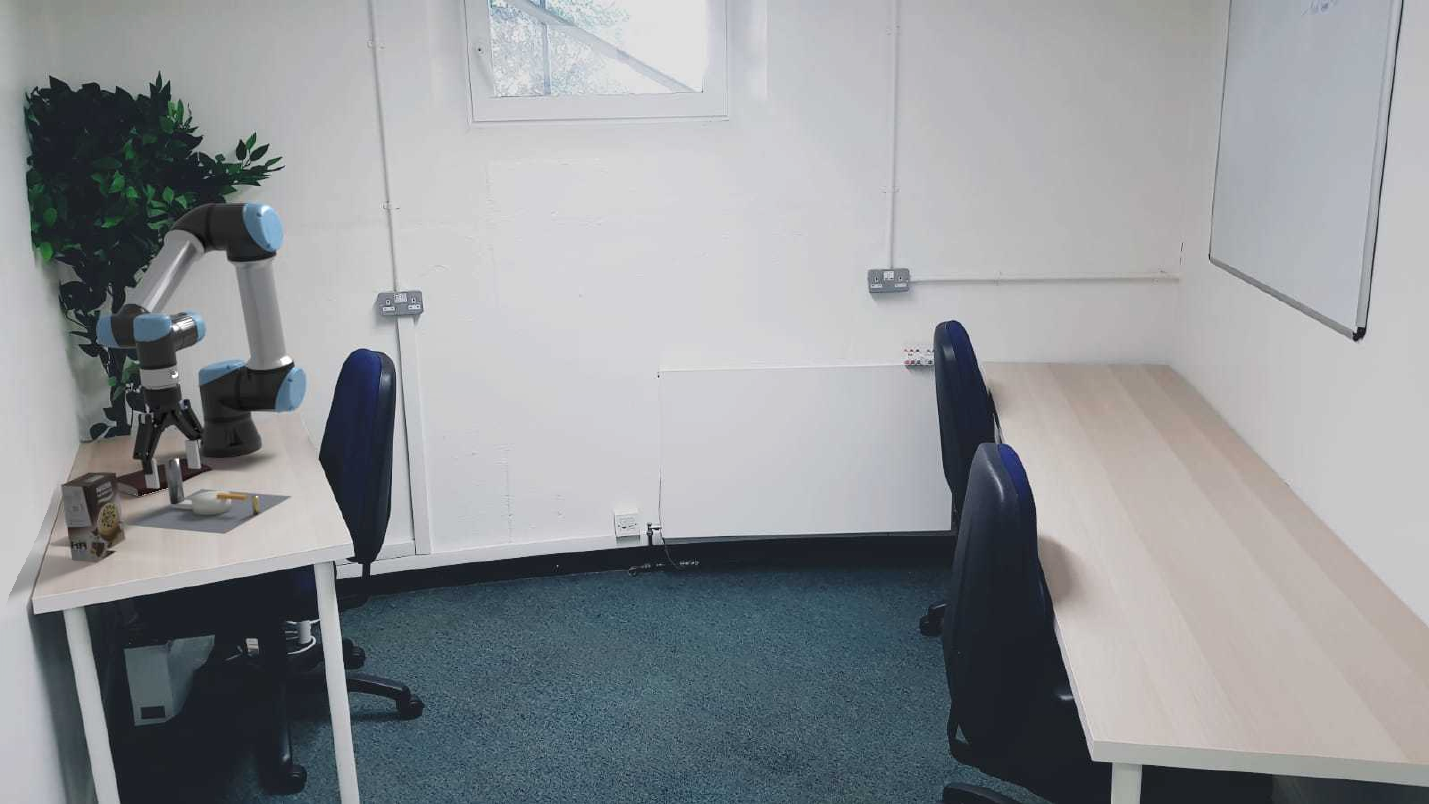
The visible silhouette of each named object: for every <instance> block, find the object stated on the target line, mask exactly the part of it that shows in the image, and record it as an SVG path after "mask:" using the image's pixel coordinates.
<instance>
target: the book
mask: <svg viewBox="0 0 1429 804" xmlns="http://www.w3.org/2000/svg"><path fill="white" fill-rule="evenodd" d="M179 462H180V469H181V477H182V483H184V482H187V481H188V480H190V479H193V478H195V477H198V476H199V475H202V474H204V473H207V472H211V471H213V468H212V466H210V465H208V464H205V463H203V462H200V464H201V468H200V469H194V468H189V467H188V460H187V457H186V458H183V457H182V458H179ZM157 471H158V478H159V485H160V488H158V489H157V488H147V485H146V478H145V475H144V473H143V469H141V470H137V471H133V472H130V473H127V474H122V475H119V476H116V478H117V485H118V490H119V492H121V491H123V492H122V493H124V492H125V494H127V493H130V494H129V495H131V494H136V495H138V496H142V495H144V494H149V493H152V492H156V491H159V490H162V489H166V488H168V484H167V476H166V469H165V462H164V463H161V464H158V465H157ZM166 490H167V489H166ZM159 492H160V491H159ZM156 493H157V492H156ZM152 494H153V493H152ZM149 495H150V494H149ZM142 497H143V496H142Z"/></svg>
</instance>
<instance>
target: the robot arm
mask: <svg viewBox="0 0 1429 804" xmlns="http://www.w3.org/2000/svg"><path fill="white" fill-rule="evenodd" d="M283 238H284V231H283V225H282V222H281V219H280V217H279V215H278V214H277V212H276V211H275V210H274V209H273V208H272V207H271V206H270V205H268V204H265V203H254V202H230V203H229V202H226V203H224V202H223V203H216V202H213V203H212V202H211V203H206V204H205V203H204V204H202V205H199V206H197V207H195V208H193V209H191V210H189V211H188V212H187V213H185V214H183V216H182V217H180V218H179V219H178V220H176V222H175V223H173V225H172V226H171V227H170V228H169V229H168V231H167V232H166V234H165V235H164V238H163V246H162V248H161V249H160V251H159V252H158V254H157V255H156V257H155V258H154V260H153V261H151V264H150V265H149V267H148V268H147V270H146V271H145V273H144V274H143V276H142V277H141V278H140V280H139V281H138V282H137V284H136V286H135V287H134V288H133V290H132V292H131V293H130V294H129V296H128V298H126V300H125V301H124V303H123V304H122V306H121V307H120V308H119V310H118V311H117V313H110V314H104V315H102V316H100V317H99V319H98V321H97V323H96V329H95V331H96V337H97V340H99V341H98V342H100V344H101V345H102V346H104V347H106V348H112V349H113V348H115V349H119V350H120V349H121V350H122V349H136V352H137V358H138V367H139V374H140V375H139V376H140V382H141V386H142V387H143V388H142V395H143V399H144V400H143V401H144V404H145V405H146V406H147V407H148V408H149V409H148V413H139V414H138V415H137V418H138V419H137V420H138V421H137V422H138V425H137V426H138V428H137V431H136V436H135V442H134V448H133V453H132V459H133V460H135V461H136V460H138V461H141V466H142V470H143V473H144V475H145V478H146V485H147V488H157V489H158V488H160V485H159V478H158V471H157V460H156V458H153V457H154V455H155V452H156V449H157V448H158V447H157V446H158V443H160V442H159V441H160V439H161V437H162V434H163V433H164V432H165V430H166V429H168V428H169V427H171V426H175V427H176V428H177V429H178V430H179V431H180V433H181V434H182V435H184V437H185V438H187V439H186V440H184V445H185V453H186V459H187V460H188V467H189V468H194V469H200V468H201V464H200V463H201V460H200V459H201V458H200V454H201V455H203V456H205V457H214V458H223V457H224V458H226V457H234V456H235V457H236V456H242V455H245V454H249V453H253V452H255V451H257V450H259V449H260V448H262V446H263V443H262V436H261V435H260V434H259V431H258V428H257V427H256V424H255V422H254V420H253V417H252V412H259V413H260V412H266V413H278V414H279V413H285V412H289V413H290V412H294V411H296V410H297V409H298V408H299V407H300V406H301V404H302V403H303V400H304V397H305V395H306V391H307V377H306V373H305V371H304V369H303V368H302V367H300V366H298V365H295V361H294V357H293V356H292V355H291V354H289V353H288V352H287V350H286V349H287V348H286V343H285V337H284V331H283V330H284V329H283V325H282V320H281V319H282V318H281V313H280V308H279V307H280V304H279V301H278V300H279V299H278V294H277V288H276V281H275V276H274V270H273V264H272V263H273V261H274V260H275V258H276V257H277V255H278V254H277V251H278V250H280V248H281V247H282V244H283V243H284V242H283V241H284V240H283ZM216 251H218V252H225V253H226V258H227V259H226V260H227V262H229V263H230V264H232V265H233V266H234V268H235V273H236V279H237V284H238V285H237V286H238V290H239V296H240V301H241V302H240V303H241V307H242V314H243V320H244V325H245V330H246V338H247V342H248V348H249V353H250V357H249V359H248V360H247V361H245V360H244V359H239V358H237V359H231V360H224V361H220V362H216V363H212V364H208V365H206V366H204V367H201V369H200V370H199V371H198V375H197V377H198V388H199V396H200V403H201V408H202V415H203V426H202V424H201V422H200V421H199V419H198V417H197V415H196V414H195V412H194V410H193V408H192V404H191V400H190V399H189V398H183V394H182V389H181V384H179V383H178V382H179V381H180V377H179V371H178V362H177V361H178V360H177V354H176V353H177V352H179V351H181V350H184V349H188V348H190V347H193V346H195V345H196V344H198V343H199V342H201V341H203V339H204V337H205V336H206V332H207V327H206V324H205V321H204V319H203V318H202V317H201V316H200V315H199V314H198V313H196V312H193V311H185V312H182V311H180V312H179V313H178V312H177V314H169V313H165V312H162V311H163V310H164V308H165V306H166V305H167V304H168V302H169V301H170V300H171V297H172V296H173V295H174V294H175V292H176V290H177V288H178V287H179V286H180V284H181V282H182V281H183V279H184V278H185V276H186V275H187V273H188V272H189V271H190V269H191V267H192V266H193V264H194V263H196V262H199V261H201V260H202V259H203V257H204V256H205V254H207V253H210V252H216Z"/></svg>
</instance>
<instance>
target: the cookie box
mask: <svg viewBox="0 0 1429 804" xmlns="http://www.w3.org/2000/svg"><path fill="white" fill-rule="evenodd" d="M116 477H117V473H116V472H92V471H91V472H87V473H85V474H83V475H80V476H78V477H77V478H73V479H72V480H70V481H67V482H65V483H63V484H60V488H61V495H62V496H61V497H62V503H63V507H64V515H65V521H66V522H65V523H66V528H67V535H68V541H69V542H68V543H69V549H70V555H71V556H70V557H71V560H72V561H83V562H84V561H85V562H95V563H96V562H97V563H98V562H101V561H102V560H104V559H106V558H108V557H109V556H111V555H114V554H115V553H116V552H117V550H110V549H111V548H114V547H115V546H117V545H120V543H122V542H124V541H126V533H125V525H124V520H123V519H124V518H123V513H122V507H121V499H120V498H121V497H120V493H119V492H120V491H118V485H117V478H116Z"/></svg>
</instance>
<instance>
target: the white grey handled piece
mask: <svg viewBox="0 0 1429 804" xmlns="http://www.w3.org/2000/svg"><path fill="white" fill-rule="evenodd" d="M179 459H180V457H177V456H176V457H175V456H174V457H172V456H171V457H167V458H165V459H163V460H164V463H165V469H166V476H167V484H168V489H167V491H168V496H169V497H168V498H169V505H170V504H172V507H173V508H180V509H191V510H193V513H194V514H196V515H204V516H205V515H215V514H220V513H223V512H226V511H228V510H230V509H231V508H232V503H231V499H235V500H246V499H248V496H247V495H241V494H230V493H229V492H227V491H228V490H219V491H208V492H203V493H200V494H197V495H195V496H193V497H192V498H191V500H185V499H184V498H185V493H184V486H183V485H184V484H183V482H182V477H181V469H180V462H179Z"/></svg>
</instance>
